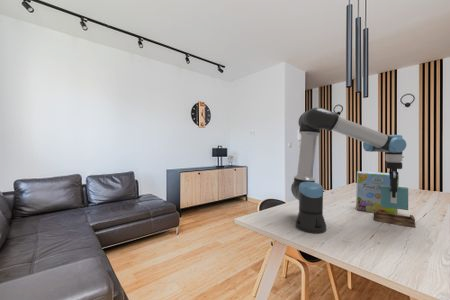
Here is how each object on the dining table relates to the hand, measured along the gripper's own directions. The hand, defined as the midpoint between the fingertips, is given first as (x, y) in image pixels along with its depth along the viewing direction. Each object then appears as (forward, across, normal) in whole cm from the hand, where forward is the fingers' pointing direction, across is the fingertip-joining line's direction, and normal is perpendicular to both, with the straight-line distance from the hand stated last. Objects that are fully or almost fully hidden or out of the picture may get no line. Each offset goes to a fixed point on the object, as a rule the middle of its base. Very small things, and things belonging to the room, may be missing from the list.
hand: (393, 202), depth 118 cm
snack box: (+11, +15, +8) cm, 20 cm away
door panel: (+3, 0, 0) cm, 3 cm away
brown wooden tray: (+11, 0, 0) cm, 11 cm away
